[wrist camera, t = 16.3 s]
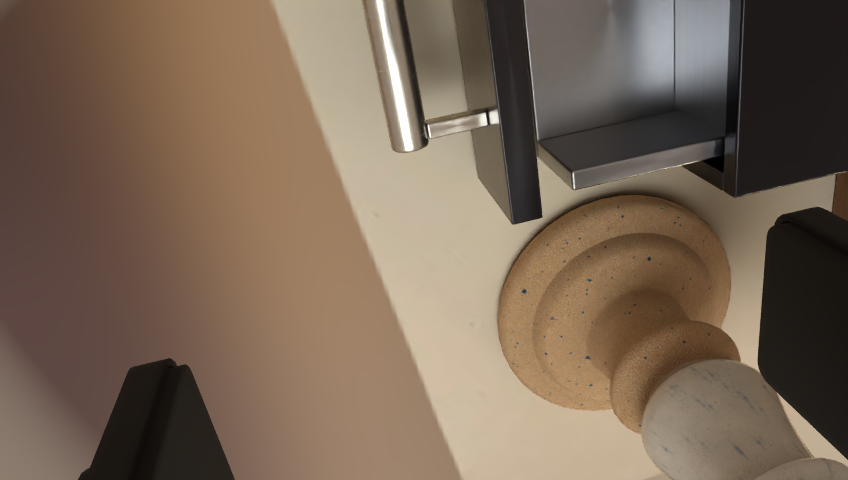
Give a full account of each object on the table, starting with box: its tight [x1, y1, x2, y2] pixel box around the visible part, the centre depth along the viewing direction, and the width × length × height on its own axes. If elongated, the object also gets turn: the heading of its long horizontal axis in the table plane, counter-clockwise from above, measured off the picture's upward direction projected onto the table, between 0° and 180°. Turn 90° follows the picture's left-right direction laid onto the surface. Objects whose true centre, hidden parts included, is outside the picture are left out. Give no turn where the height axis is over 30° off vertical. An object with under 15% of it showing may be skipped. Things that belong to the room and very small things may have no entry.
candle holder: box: [498, 195, 848, 480], centre depth 25 cm, size 12×12×20 cm
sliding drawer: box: [362, 0, 730, 224], centre depth 24 cm, size 13×12×5 cm
